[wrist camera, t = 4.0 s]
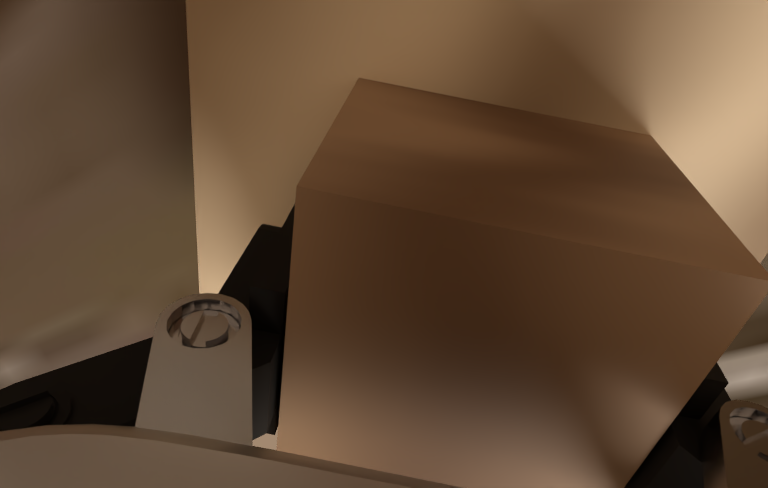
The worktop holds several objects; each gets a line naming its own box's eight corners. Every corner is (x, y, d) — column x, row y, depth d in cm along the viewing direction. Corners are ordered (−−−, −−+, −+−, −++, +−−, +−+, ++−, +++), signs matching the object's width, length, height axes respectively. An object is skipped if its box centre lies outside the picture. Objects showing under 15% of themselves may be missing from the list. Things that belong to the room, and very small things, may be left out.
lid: (889, 18, 9) (1319, 130, 4) (608, 445, 15) (669, 660, 11) (200, -116, 9) (-49, -139, 5) (214, 364, 16) (119, 545, 11)
